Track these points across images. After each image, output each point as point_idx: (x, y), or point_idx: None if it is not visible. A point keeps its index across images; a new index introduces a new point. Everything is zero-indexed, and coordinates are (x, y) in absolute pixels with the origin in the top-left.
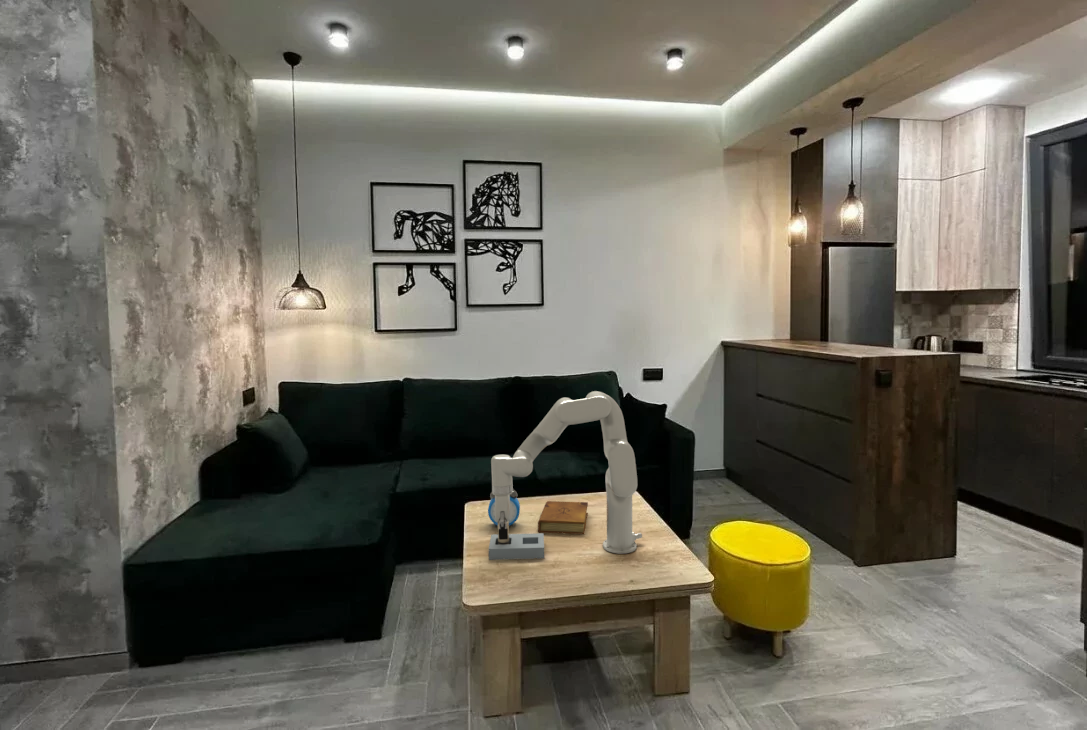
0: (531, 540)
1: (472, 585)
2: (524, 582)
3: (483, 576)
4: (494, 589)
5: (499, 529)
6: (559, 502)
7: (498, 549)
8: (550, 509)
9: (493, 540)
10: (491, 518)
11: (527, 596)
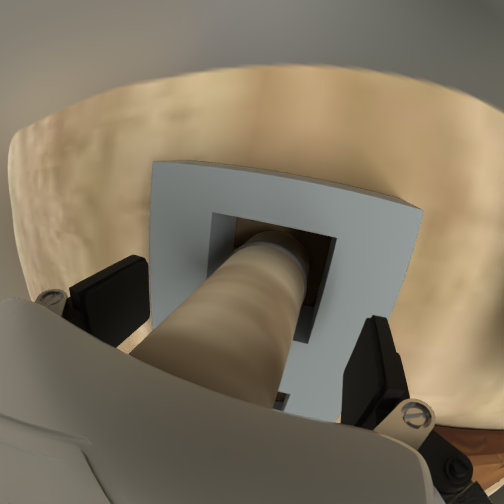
0: (283, 409)
1: (46, 121)
2: (55, 274)
3: (73, 147)
4: (31, 188)
5: (74, 293)
6: (496, 480)
7: (153, 226)
8: (479, 475)
9: (294, 208)
10: None
11: (24, 263)
